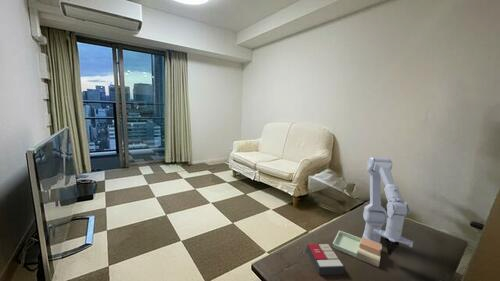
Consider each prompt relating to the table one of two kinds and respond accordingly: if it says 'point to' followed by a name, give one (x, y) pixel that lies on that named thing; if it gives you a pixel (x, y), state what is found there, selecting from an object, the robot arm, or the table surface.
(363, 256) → the bench plate
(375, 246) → the tile
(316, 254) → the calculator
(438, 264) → the table surface
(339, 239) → the box
